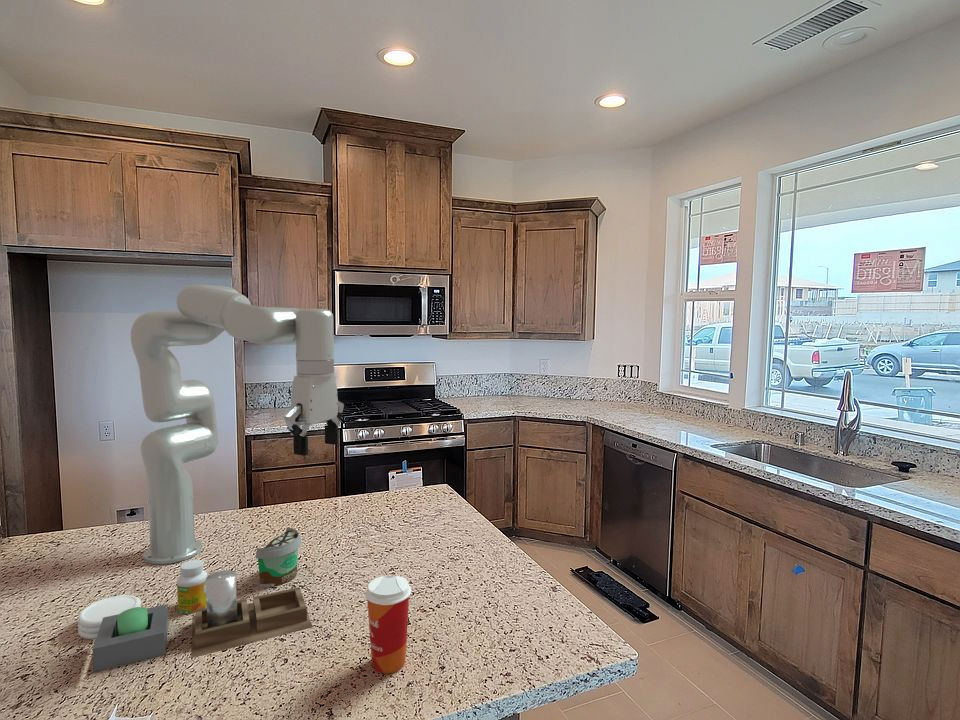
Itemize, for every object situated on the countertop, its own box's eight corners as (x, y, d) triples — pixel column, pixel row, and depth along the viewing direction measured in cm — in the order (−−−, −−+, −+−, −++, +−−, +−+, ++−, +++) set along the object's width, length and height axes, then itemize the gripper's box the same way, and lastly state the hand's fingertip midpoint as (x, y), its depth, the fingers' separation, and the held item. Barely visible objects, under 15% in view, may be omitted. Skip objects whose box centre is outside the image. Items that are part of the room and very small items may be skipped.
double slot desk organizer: (193, 621, 102) (192, 603, 102) (300, 596, 111) (300, 580, 111) (191, 663, 90) (190, 644, 89) (312, 632, 99) (312, 614, 98)
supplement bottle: (173, 619, 102) (171, 571, 102) (183, 605, 108) (181, 559, 107) (203, 617, 103) (202, 569, 103) (212, 602, 109) (210, 557, 108)
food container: (282, 597, 111) (281, 551, 110) (256, 594, 112) (255, 549, 111) (312, 570, 123) (311, 528, 122) (288, 567, 124) (287, 526, 123)
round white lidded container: (141, 630, 99) (140, 612, 99) (75, 647, 94) (74, 628, 94) (142, 605, 108) (141, 588, 107) (81, 620, 102) (80, 602, 102)
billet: (207, 624, 99) (205, 573, 98) (236, 618, 101) (235, 568, 101) (207, 639, 95) (205, 586, 94) (238, 632, 97) (236, 579, 96)
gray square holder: (104, 644, 95) (103, 617, 94) (168, 629, 99) (167, 603, 99) (94, 678, 86) (92, 649, 85) (165, 660, 90) (164, 632, 90)
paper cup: (368, 650, 94) (368, 574, 93) (412, 648, 94) (412, 572, 93) (362, 680, 86) (362, 598, 85) (410, 677, 87) (410, 596, 85)
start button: (120, 635, 93) (119, 610, 93) (149, 628, 95) (148, 604, 95) (116, 649, 89) (115, 623, 89) (147, 641, 91) (145, 617, 91)
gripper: (327, 364, 119) (328, 438, 120) (270, 371, 103) (272, 457, 104) (355, 365, 116) (356, 442, 117) (301, 373, 100) (302, 461, 101)
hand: (316, 449), depth 111 cm, fingers open, 9 cm apart
